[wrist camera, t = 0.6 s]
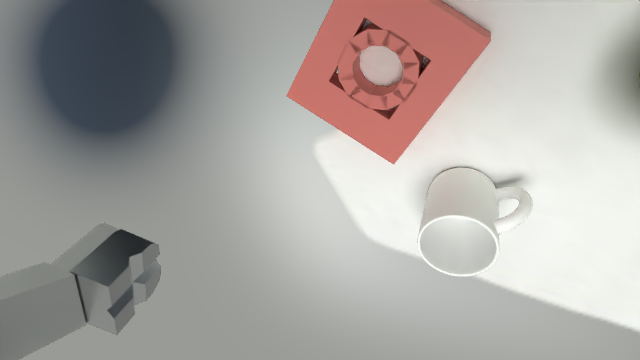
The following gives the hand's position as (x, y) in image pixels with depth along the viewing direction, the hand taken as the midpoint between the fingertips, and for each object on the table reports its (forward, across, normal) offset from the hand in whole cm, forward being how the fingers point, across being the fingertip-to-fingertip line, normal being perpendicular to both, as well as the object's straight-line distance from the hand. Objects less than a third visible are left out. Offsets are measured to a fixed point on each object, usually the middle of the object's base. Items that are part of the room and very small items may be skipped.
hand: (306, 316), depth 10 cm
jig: (+41, +4, +8) cm, 42 cm away
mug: (+41, -11, +20) cm, 47 cm away
